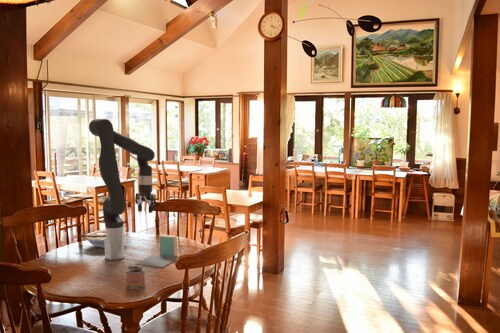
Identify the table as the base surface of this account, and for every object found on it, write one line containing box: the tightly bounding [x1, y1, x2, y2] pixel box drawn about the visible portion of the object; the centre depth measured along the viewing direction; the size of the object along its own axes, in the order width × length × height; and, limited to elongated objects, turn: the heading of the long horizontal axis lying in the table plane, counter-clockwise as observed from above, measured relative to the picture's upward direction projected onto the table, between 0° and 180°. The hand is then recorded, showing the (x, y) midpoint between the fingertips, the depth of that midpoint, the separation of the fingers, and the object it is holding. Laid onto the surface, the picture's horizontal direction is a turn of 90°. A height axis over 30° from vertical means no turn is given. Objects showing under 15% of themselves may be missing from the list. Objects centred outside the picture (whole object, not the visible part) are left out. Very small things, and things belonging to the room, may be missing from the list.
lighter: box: [125, 264, 146, 290], centre depth 178 cm, size 8×3×10 cm, turn 92°
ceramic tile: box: [159, 234, 178, 257], centre depth 222 cm, size 3×9×11 cm, turn 71°
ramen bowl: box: [78, 229, 127, 249], centre depth 239 cm, size 25×23×8 cm
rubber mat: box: [135, 253, 179, 269], centre depth 213 cm, size 16×16×1 cm
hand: (145, 212), depth 230 cm, fingers open, 8 cm apart
